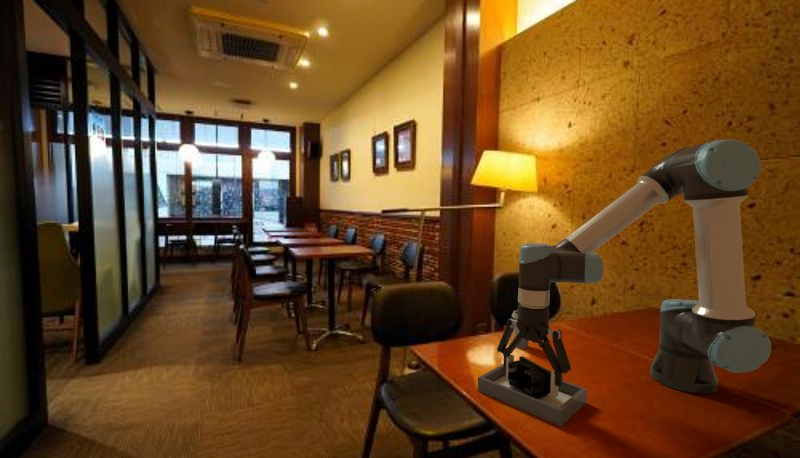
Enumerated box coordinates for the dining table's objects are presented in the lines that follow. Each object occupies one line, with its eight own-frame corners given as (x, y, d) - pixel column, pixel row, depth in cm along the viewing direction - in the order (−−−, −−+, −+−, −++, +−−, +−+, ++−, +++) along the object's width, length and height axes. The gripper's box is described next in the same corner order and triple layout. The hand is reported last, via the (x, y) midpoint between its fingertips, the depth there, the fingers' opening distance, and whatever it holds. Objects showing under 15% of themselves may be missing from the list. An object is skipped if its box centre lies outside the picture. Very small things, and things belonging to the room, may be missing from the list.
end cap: (555, 395, 92) (556, 369, 92) (533, 401, 90) (534, 374, 89) (527, 378, 102) (528, 354, 101) (506, 383, 99) (507, 358, 98)
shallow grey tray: (586, 402, 93) (587, 388, 93) (560, 426, 82) (561, 411, 82) (507, 373, 109) (507, 361, 108) (477, 390, 98) (478, 377, 98)
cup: (528, 351, 125) (529, 316, 124) (508, 347, 129) (509, 313, 128) (533, 345, 131) (534, 311, 130) (514, 341, 135) (515, 308, 134)
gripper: (588, 311, 88) (584, 400, 89) (500, 293, 105) (498, 368, 107) (575, 318, 83) (572, 412, 84) (485, 298, 100) (483, 376, 101)
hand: (530, 388), depth 95 cm, fingers closed on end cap, 11 cm apart
